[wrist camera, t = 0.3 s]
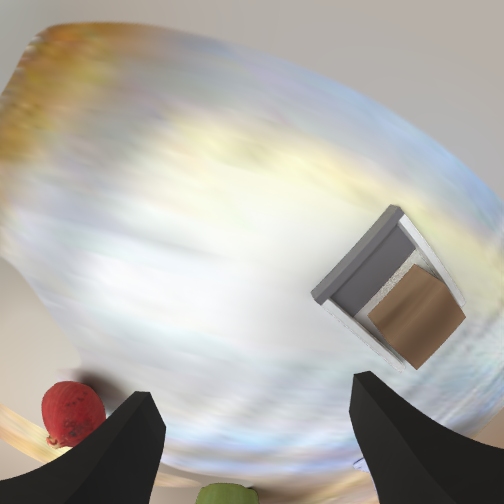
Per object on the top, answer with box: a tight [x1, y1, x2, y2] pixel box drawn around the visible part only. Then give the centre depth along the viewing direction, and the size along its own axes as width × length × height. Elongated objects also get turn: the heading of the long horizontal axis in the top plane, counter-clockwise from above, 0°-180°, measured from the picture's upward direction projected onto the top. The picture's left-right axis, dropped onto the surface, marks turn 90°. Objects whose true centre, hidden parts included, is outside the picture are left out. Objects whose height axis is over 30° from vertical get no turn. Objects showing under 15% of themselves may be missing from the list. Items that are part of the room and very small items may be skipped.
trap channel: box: [311, 205, 466, 373], centre depth 18 cm, size 11×8×1 cm
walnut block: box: [368, 264, 466, 370], centre depth 17 cm, size 4×5×4 cm
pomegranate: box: [42, 381, 106, 449], centre depth 17 cm, size 6×6×8 cm
